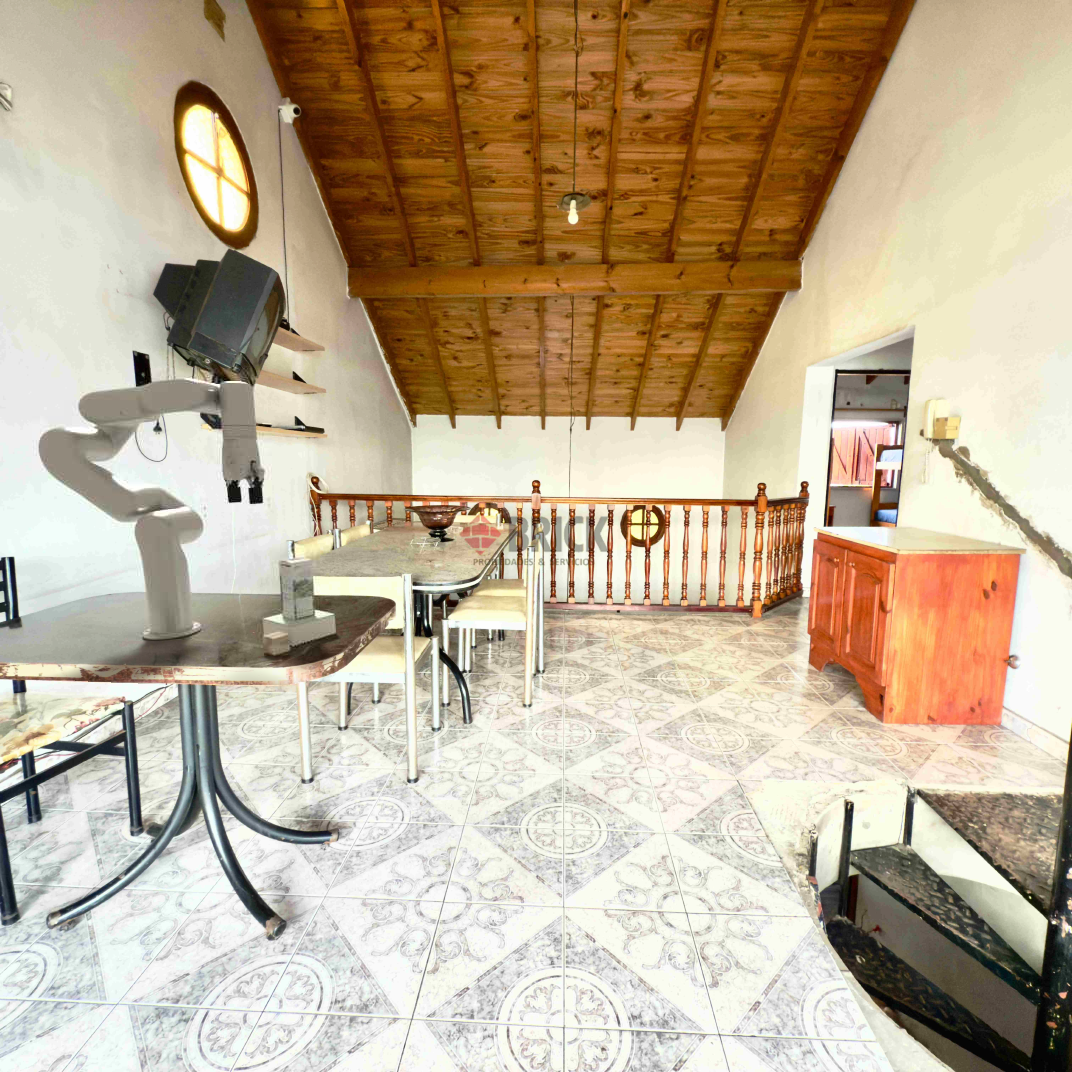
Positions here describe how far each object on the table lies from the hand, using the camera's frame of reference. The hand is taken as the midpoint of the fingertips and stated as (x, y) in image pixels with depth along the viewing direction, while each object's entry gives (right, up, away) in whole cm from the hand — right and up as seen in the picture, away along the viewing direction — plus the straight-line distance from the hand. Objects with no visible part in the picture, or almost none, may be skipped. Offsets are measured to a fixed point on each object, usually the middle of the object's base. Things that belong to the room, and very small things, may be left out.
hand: (245, 503), depth 141 cm
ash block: (+13, -35, -11) cm, 39 cm away
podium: (+13, -33, +1) cm, 36 cm away
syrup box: (+14, -29, 0) cm, 32 cm away
